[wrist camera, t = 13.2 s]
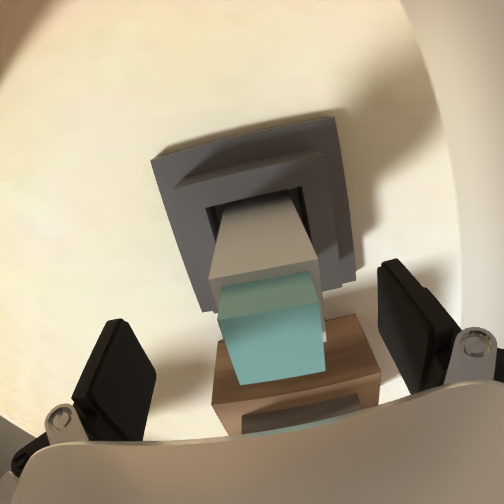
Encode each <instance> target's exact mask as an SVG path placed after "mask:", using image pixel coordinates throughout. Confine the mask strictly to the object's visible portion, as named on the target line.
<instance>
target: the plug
mask: <svg viewBox="0 0 504 504" xmlns="http://www.w3.org/2000/svg"><path fill="white" fill-rule="evenodd" d="M208 280H209V283H210V287H211V290H212V293H213V296H214V299H215V302H216V306H217V309H218V318H217V321H218V324H219V327H220V329H221V332H222V335H223V338H224V341H225V344H226V347H227V350H228V353H229V355H230V358H231V361H232V364H233V367H234V370H235V372H236V375H237V378H238V381H239V383H240V385H245V384H252V383H259V382H266V381H273V380H279V379H285V378H291V377H296V376H302V375H307V374H312V373H317V372H322V371H326V370H325V358H324V347H323V342H327V341H326V329H325V319H324V308H323V298H322V289H321V280H320V271H319V263H318V258H317V255H316V253H315V251H314V248H313V246H312V244H311V242H310V239H309V237H308V235H307V233H306V231H305V228H304V226H303V224H302V222H301V219H300V217H299V215H298V213H297V211H296V209H295V206H294V204H293V202H292V200H291V198H290V196H289V194H288V191H287V190H281V191H277V192H272V193H267V194H263V195H258V196H254V197H249V198H245V199H241V200H236V201H232V202H228V203H225V207H224V211H223V215H222V220H221V224H220V228H219V233H218V237H217V242H216V246H215V251H214V255H213V260H212V264H211V269H210V273H209V278H208Z"/></svg>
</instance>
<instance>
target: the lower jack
mask: <svg viewBox="0 0 504 504" xmlns="http://www.w3.org/2000/svg"><path fill="white" fill-rule="evenodd" d="M150 161H151V165H152V168H153V171H154V174H155V178H156V181H157V184H158V187H159V191H160V194H161V197H162V200H163V203H164V206H165V209H166V212H167V215H168V218H169V221H170V224H171V227H172V230H173V233H174V236H175V239H176V242H177V245H178V248H179V251H180V253H181V256H182V259H183V262H184V265H185V267H186V270H187V273H188V276H189V278H190V281H191V284H192V287H193V289H194V292H195V295H196V297H197V300H198V302H199V305H200V308H201V310H202V312H207V311H213V312H214V313H218V309H217V306H216V302H215V299H214V296H213V293H212V290H211V287H210V283H209V280H208V278H209V273H210V269H211V264H212V260H213V255H214V251H215V246H216V242H217V237H218V233H219V228H220V224H221V220H222V215H223V211H224V207H225V203H228V202H232V201H236V200H241V199H245V198H249V197H254V196H258V195H263V194H267V193H272V192H277V191H281V190H287V191H288V194H289V196H290V198H291V200H292V202H293V204H294V206H295V209H296V211H297V213H298V215H299V217H300V219H301V222H302V224H303V226H304V228H305V231H306V233H307V235H308V237H309V239H310V242H311V244H312V246H313V248H314V251H315V253H316V255H317V258H318V263H319V271H320V280H321V289H322V292H323V291H327V290H331V289H336V288H340V287H342V284H343V283H347V282H352V281H356V273H355V261H354V250H353V240H352V230H351V221H350V213H349V205H348V197H347V190H346V183H345V176H344V170H343V163H342V157H341V151H340V146H339V140H338V134H337V129H336V124H335V119H334V117H326V118H320V119H314V120H308V121H302V122H297V123H291V124H286V125H281V126H276V127H271V128H266V129H262V130H257V131H253V132H248V133H244V134H240V135H235V136H231V137H227V138H223V139H219V140H215V141H211V142H208V143H204V144H200V145H197V146H193V147H189V148H186V149H182V150H179V151H176V152H172V153H169V154H166V155H162V156H159V157H156V158H153V159H152V160H150Z"/></svg>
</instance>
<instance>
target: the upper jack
mask: <svg viewBox="0 0 504 504" xmlns="http://www.w3.org/2000/svg"><path fill="white" fill-rule="evenodd" d="M325 329H326V341H327V342H323V347H324V358H325V370H326V371H322V372H317V373H312V374H307V375H302V376H296V377H291V378H285V379H279V380H273V381H266V382H259V383H252V384H245V385H240V383H239V381H238V378H237V375H236V372H235V370H234V367H233V364H232V361H231V358H230V355H229V353H228V350H227V347H226V344H225V341H220V342H218V346H217V355H216V364H215V374H214V384H213V393H212V403H211V405H212V407H213V409H214V411H215V412H216V414H217V416H218V418H219V419H220V421H221V423H222V425H223V426H224V428H225V430H226V432H227V433H228V435H229V436H233V435H241V434H249V433H256V432H262V431H269V430H275V429H280V428H286V427H291V426H296V425H301V424H306V423H311V422H316V421H320V420H324V419H329V418H333V417H337V416H341V415H345V414H348V413H352V412H356V411H359V410H363V409H366V408H370V407H374V406H377V405H378V402H379V391H380V378H381V371H380V369H379V366H378V364H377V362H376V359H375V357H374V355H373V352H372V350H371V348H370V345H369V343H368V341H367V339H366V336H365V334H364V332H363V330H362V328H361V325H360V323H359V321H358V319H357V317H356V314H353V315H349V316H344V317H340V318H336V319H332V320H327V321H325Z"/></svg>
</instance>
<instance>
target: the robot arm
mask: <svg viewBox="0 0 504 504" xmlns="http://www.w3.org/2000/svg"><path fill="white" fill-rule="evenodd" d="M377 279H378V329H379V333H380V335H381V337H382V339H383V341H384V342H385V344H386V346H387V348H388V350H389V352H390V354H391V356H392V358H393V360H394V362H395V364H396V366H397V368H398V370H399V372H400V374H401V376H402V378H403V380H404V382H405V384H406V386H407V388H408V390H409V392H410V394H411V395H409V396H406V397H403V398H400V399H397V400H394V401H390V402H387V403H384V404H380V405H377V406H374V407H370V408H366V409H363V410H359V411H356V412H352V413H348V414H345V415H341V416H337V417H333V418H329V419H324V420H320V421H316V422H311V423H306V424H301V425H296V426H291V427H286V428H280V429H275V430H269V431H262V432H256V433H249V434H241V435H233V436H224V437H215V438H204V439H190V440H173V441H142V440H143V436H144V431H145V426H146V421H147V417H148V412H149V408H150V403H151V399H152V394H153V390H154V386H155V382H156V371H155V369H154V367H153V365H152V364H151V362H150V360H149V359H148V357H147V355H146V354H145V352H144V350H143V348H142V347H141V345H140V343H139V341H138V340H137V338H136V336H135V334H134V332H133V330H132V329H131V327H130V325H129V323H128V322H126V321H124V320H123V319H121V318H120V319H114V320H109V321H107V322H106V324H105V326H104V328H103V330H102V332H101V334H100V336H99V338H98V340H97V342H96V344H95V347H94V349H93V351H92V353H91V355H90V357H89V359H88V361H87V363H86V366H85V368H84V370H83V372H82V374H81V377H80V379H79V381H78V383H77V386H76V388H75V390H74V393H73V395H72V397H71V399H72V400H73V401H74V404H73V406H72V405H70V404H60V405H58V406H56V407H55V408H53V409H52V410H51V411H50V412H49V414H48V415H47V417H46V420H45V429H46V432H45V433H43V434H42V435H41V436H39V437H38V438H36V439H35V440H33V441H32V442H31V443H29V444H28V445H26V446H25V447H24V448H22V449H20V450H19V451H18V452H17V453H16V454H15V455H14V457H13V459H12V463H11V468H12V472H10V471H8V472H7V473H6V474H5V475H4V476H3V477H2V478H1V479H0V504H504V349H500V348H497V341H496V339H495V337H494V336H493V335H492V334H491V333H490V332H489V331H487V330H485V329H483V328H479V327H471V328H466V329H464V330H461V328H460V327H459V326H458V325H457V323H456V322H455V321H454V320H453V318H452V317H451V316H450V315H449V314H448V312H447V311H446V310H445V309H444V307H443V306H442V305H441V304H440V303H439V301H438V300H437V299H436V298H435V297H434V295H433V294H432V293H431V292H430V291H429V290H428V289H427V288H425V287H422V286H421V285H420V283H419V282H418V281H417V280H416V279H415V278H414V276H413V275H412V274H411V273H410V272H409V271H408V270H407V268H406V267H405V266H404V265H403V264H402V263H401V262H400V261H399V260H398V259H397V258H396V259H392V260H388V261H384V262H382V264H381V267H378V269H377Z"/></svg>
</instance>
